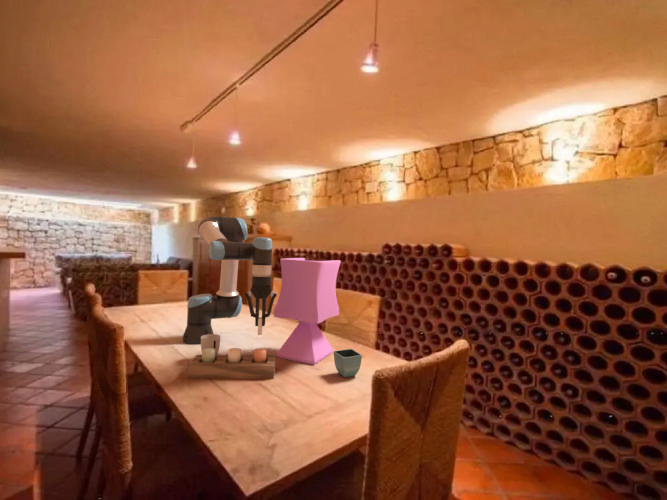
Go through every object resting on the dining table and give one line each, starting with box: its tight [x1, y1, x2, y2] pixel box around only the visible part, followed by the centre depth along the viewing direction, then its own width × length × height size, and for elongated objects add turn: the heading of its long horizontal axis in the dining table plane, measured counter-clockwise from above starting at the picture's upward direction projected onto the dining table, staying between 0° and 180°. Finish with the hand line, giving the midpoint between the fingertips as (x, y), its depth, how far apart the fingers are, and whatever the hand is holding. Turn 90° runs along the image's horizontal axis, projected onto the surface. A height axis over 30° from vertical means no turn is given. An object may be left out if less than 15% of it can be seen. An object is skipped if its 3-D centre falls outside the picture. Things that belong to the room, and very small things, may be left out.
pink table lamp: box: [273, 257, 341, 366], centre depth 158 cm, size 22×22×45 cm
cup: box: [200, 333, 221, 355], centre depth 147 cm, size 8×8×10 cm
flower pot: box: [333, 348, 363, 378], centre depth 136 cm, size 9×9×9 cm
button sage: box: [201, 348, 215, 363], centre depth 133 cm, size 5×5×5 cm
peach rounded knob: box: [227, 347, 242, 363], centre depth 134 cm, size 5×5×5 cm
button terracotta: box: [253, 348, 267, 363], centre depth 135 cm, size 5×5×5 cm
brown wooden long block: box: [186, 354, 277, 380], centre depth 134 cm, size 12×32×5 cm, turn 96°
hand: (259, 334), depth 136 cm, fingers closed
